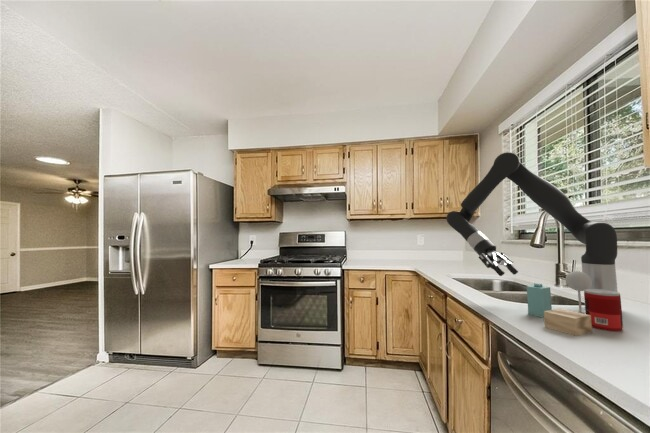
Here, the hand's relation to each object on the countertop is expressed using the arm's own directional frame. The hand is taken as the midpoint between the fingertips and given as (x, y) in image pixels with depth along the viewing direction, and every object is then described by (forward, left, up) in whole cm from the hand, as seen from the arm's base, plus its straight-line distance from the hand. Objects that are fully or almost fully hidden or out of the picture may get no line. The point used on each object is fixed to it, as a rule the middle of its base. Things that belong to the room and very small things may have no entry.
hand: (509, 274), depth 107 cm
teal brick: (0, +10, -13) cm, 17 cm away
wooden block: (+9, +22, -14) cm, 27 cm away
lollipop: (-16, +15, -13) cm, 26 cm away
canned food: (-3, +26, -13) cm, 29 cm away
